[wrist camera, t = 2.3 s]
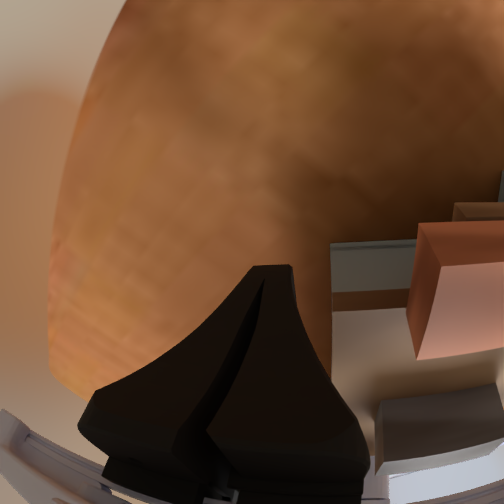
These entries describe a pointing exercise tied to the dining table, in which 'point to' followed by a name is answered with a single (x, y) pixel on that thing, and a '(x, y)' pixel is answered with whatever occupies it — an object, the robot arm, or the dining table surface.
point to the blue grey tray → (375, 263)
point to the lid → (415, 380)
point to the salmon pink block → (457, 289)
